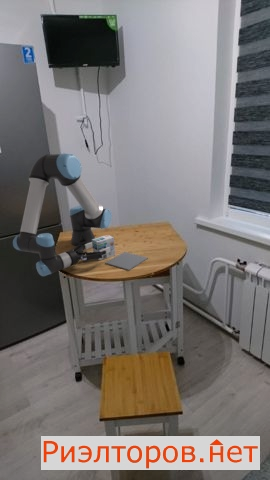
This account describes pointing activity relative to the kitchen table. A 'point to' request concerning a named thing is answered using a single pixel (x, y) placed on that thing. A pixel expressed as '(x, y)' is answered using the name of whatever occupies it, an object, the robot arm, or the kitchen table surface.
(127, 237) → the kitchen table surface
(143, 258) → the grey mat
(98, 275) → the kitchen table surface
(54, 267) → the robot arm
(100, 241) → the light bulb box
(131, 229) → the kitchen table surface
